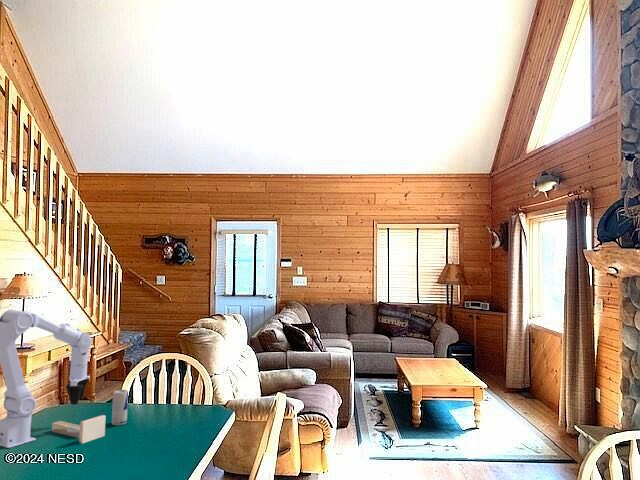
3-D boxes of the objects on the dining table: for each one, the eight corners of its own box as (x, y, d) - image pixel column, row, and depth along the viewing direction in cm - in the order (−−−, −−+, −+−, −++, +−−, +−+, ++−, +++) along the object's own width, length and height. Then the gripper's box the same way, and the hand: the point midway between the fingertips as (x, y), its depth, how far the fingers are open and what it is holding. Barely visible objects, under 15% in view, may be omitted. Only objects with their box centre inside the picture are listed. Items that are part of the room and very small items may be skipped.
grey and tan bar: (78, 438, 171) (78, 429, 172) (51, 431, 177) (52, 423, 178) (85, 435, 174) (86, 426, 174) (59, 429, 180) (59, 420, 180)
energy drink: (129, 421, 191) (130, 390, 192) (122, 425, 185) (124, 393, 186) (116, 420, 191) (117, 389, 192) (108, 425, 186) (110, 392, 187)
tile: (82, 443, 166) (83, 422, 167) (79, 442, 167) (80, 421, 167) (104, 435, 174) (105, 415, 175) (101, 435, 175) (102, 415, 175)
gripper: (86, 368, 179) (84, 406, 178) (94, 361, 193) (92, 396, 192) (65, 368, 178) (62, 407, 177) (74, 361, 192) (72, 397, 191)
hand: (76, 401), depth 184 cm, fingers open, 7 cm apart
